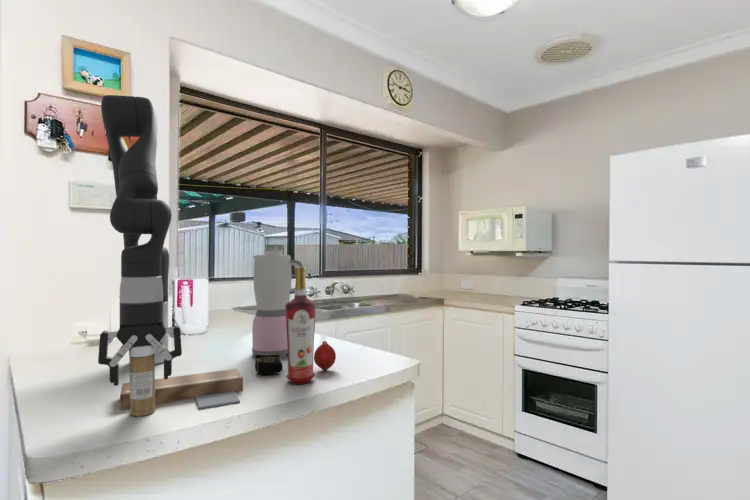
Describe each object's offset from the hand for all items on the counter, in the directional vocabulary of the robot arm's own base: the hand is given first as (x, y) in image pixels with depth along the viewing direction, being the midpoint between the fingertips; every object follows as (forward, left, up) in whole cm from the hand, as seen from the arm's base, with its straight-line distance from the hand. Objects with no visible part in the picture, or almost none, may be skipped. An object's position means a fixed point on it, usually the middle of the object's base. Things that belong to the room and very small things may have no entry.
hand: (141, 381), depth 82 cm
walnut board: (0, +12, -6) cm, 13 cm away
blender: (+2, +49, -6) cm, 49 cm away
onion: (+23, +37, -6) cm, 44 cm away
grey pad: (+10, +10, -6) cm, 15 cm away
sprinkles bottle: (0, 0, -6) cm, 6 cm away
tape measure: (+10, +32, -7) cm, 34 cm away
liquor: (+21, +27, -6) cm, 35 cm away
